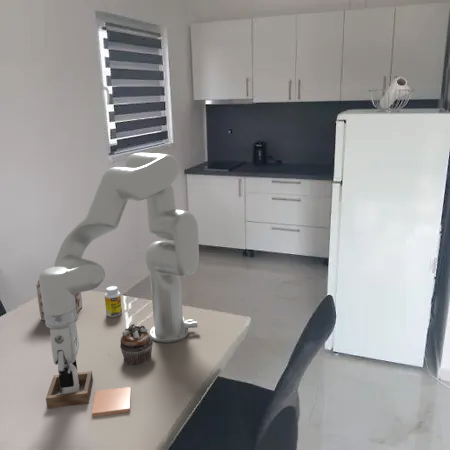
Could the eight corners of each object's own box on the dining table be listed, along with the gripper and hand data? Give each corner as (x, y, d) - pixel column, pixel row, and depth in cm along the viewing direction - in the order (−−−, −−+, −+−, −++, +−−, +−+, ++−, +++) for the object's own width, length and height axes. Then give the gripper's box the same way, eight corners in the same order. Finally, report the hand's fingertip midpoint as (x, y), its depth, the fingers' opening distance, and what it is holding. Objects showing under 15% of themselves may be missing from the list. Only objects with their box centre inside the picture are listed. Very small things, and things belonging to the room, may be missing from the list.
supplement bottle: (111, 319, 158) (108, 292, 156) (103, 314, 162) (100, 288, 160) (125, 313, 162) (122, 287, 159) (117, 309, 166) (114, 283, 163)
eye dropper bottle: (63, 402, 114) (57, 360, 111) (61, 390, 119) (56, 349, 116) (80, 397, 115) (75, 356, 112) (79, 386, 120) (73, 346, 117)
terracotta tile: (131, 389, 118) (130, 386, 118) (129, 411, 109) (129, 408, 109) (96, 394, 117) (95, 390, 116) (92, 416, 108) (91, 413, 108)
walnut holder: (93, 380, 123) (91, 370, 122) (88, 403, 113) (87, 393, 112) (55, 385, 121) (53, 375, 120) (47, 408, 111) (45, 398, 111)
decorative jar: (72, 320, 158) (66, 273, 153) (40, 321, 158) (33, 273, 154) (83, 306, 170) (78, 261, 165) (53, 306, 170) (46, 262, 165)
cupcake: (115, 365, 130) (112, 334, 127) (130, 348, 139) (128, 318, 136) (145, 369, 127) (142, 337, 125) (159, 351, 136) (157, 321, 134)
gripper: (70, 330, 104) (79, 398, 108) (81, 300, 120) (88, 360, 125) (36, 334, 102) (47, 402, 107) (52, 303, 119) (60, 363, 123)
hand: (69, 379), depth 116 cm, fingers closed on eye dropper bottle, 5 cm apart
